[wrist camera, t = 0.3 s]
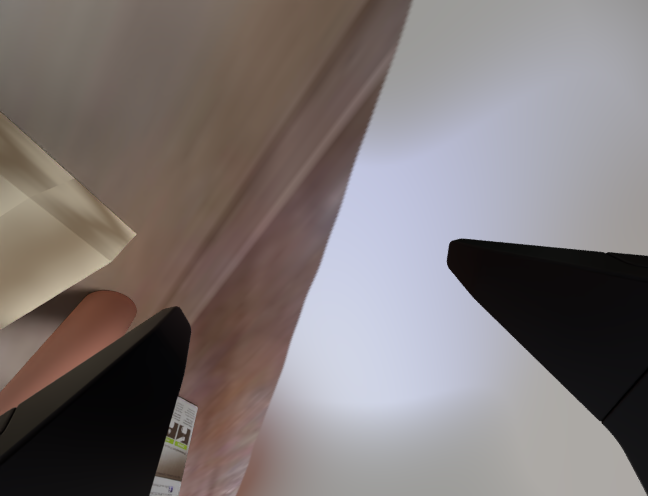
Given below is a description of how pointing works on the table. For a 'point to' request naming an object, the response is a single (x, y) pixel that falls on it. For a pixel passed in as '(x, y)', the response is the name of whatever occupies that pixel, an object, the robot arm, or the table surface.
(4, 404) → the peg
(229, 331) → the table surface
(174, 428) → the white food box
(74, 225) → the socket board
